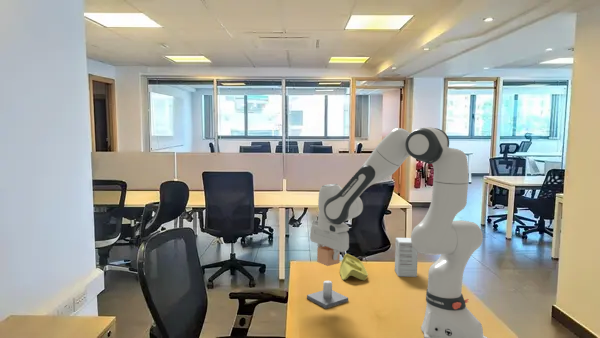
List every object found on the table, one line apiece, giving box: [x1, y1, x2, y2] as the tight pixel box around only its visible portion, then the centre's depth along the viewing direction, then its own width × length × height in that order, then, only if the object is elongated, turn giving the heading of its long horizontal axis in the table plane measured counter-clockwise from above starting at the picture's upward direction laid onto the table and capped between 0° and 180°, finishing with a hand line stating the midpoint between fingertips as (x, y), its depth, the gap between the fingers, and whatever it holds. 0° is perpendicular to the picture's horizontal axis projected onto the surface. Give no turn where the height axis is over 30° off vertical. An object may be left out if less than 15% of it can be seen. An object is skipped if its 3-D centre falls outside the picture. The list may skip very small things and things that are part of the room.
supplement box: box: [394, 237, 419, 278], centre depth 205 cm, size 10×9×17 cm
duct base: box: [306, 280, 349, 309], centre depth 172 cm, size 12×12×8 cm
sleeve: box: [316, 246, 341, 267], centre depth 171 cm, size 6×6×6 cm
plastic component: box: [339, 253, 369, 281], centre depth 204 cm, size 20×7×10 cm
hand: (328, 257), depth 171 cm, fingers closed on sleeve, 6 cm apart
